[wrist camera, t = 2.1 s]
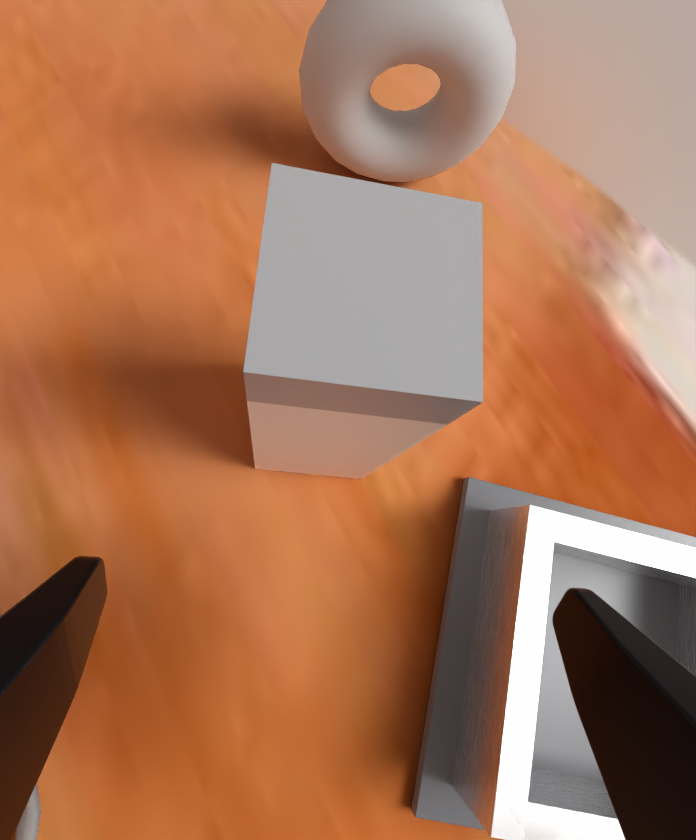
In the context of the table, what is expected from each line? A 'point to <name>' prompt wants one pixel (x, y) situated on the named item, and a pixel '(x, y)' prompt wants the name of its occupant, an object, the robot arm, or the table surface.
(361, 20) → the donut
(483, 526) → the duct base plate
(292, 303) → the gray square block
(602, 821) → the metal collar
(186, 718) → the table surface
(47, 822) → the table surface
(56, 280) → the table surface
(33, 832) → the ramen bowl
